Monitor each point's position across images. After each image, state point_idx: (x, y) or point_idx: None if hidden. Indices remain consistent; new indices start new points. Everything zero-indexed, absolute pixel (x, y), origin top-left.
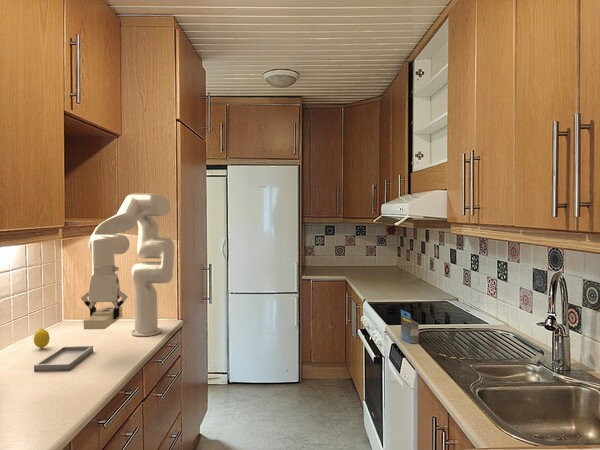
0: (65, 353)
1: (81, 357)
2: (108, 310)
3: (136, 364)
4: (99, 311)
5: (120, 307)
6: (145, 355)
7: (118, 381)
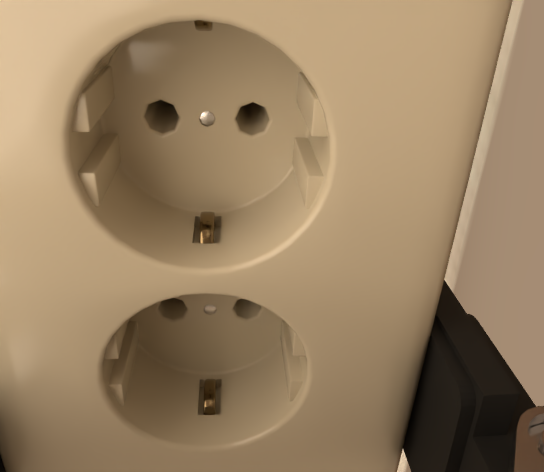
0: None
1: None
2: (233, 287)
3: (462, 239)
4: (105, 452)
5: (507, 2)
6: (512, 27)
7: (405, 457)
